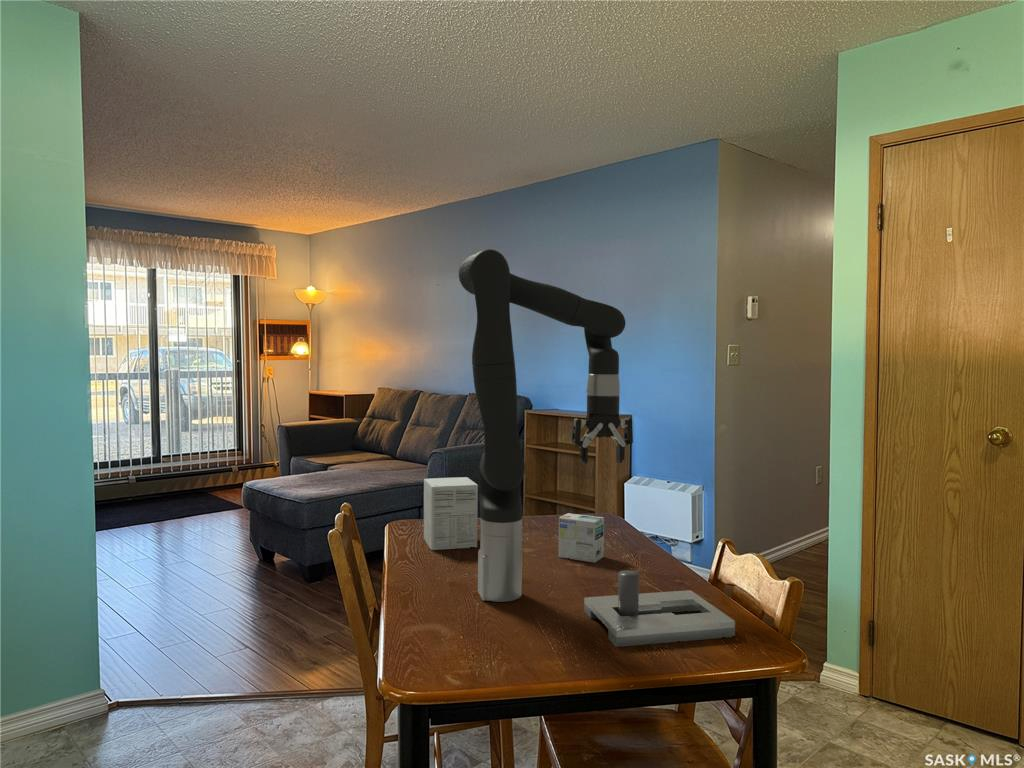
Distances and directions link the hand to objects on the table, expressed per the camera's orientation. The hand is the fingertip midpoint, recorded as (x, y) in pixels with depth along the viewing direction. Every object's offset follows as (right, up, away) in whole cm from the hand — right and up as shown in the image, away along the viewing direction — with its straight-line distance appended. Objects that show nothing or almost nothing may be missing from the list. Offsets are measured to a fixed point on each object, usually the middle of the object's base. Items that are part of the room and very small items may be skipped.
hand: (602, 462), depth 165 cm
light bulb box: (-3, -28, +21) cm, 35 cm away
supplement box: (-39, -27, +33) cm, 58 cm away
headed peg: (+2, -29, -26) cm, 39 cm away
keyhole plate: (+8, -29, -25) cm, 39 cm away
